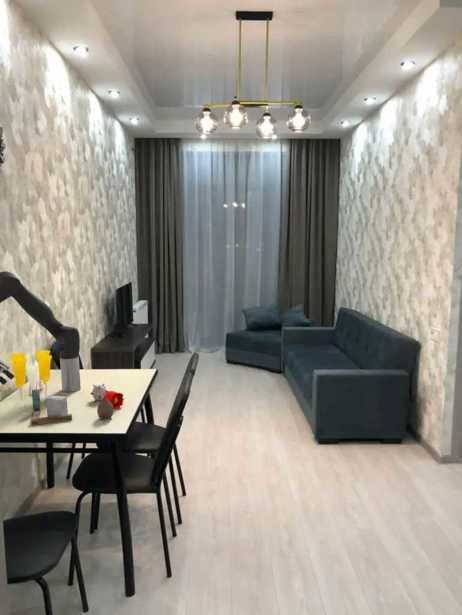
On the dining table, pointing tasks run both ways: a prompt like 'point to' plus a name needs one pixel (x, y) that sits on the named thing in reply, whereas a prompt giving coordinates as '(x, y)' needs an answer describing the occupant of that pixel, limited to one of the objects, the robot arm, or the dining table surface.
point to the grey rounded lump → (105, 409)
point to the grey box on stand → (37, 411)
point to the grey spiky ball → (99, 392)
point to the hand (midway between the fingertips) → (9, 380)
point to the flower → (114, 398)
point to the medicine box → (56, 406)
